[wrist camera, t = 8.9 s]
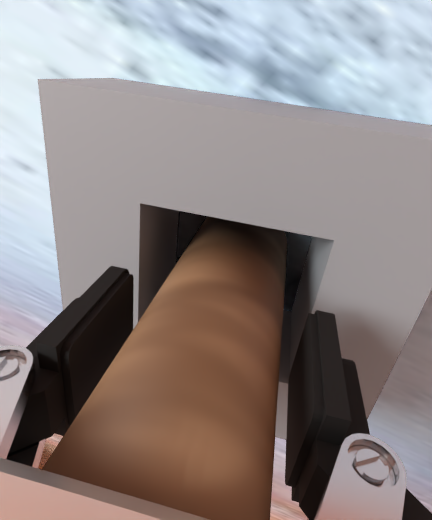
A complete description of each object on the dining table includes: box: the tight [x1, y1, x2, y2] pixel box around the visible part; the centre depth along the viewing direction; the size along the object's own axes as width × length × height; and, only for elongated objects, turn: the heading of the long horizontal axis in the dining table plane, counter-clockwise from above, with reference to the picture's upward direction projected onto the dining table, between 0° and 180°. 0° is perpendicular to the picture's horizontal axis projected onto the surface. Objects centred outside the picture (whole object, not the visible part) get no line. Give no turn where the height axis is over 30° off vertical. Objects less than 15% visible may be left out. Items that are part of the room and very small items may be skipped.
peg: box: [42, 216, 287, 520], centre depth 11 cm, size 4×4×14 cm
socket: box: [38, 78, 432, 440], centre depth 15 cm, size 13×13×5 cm
